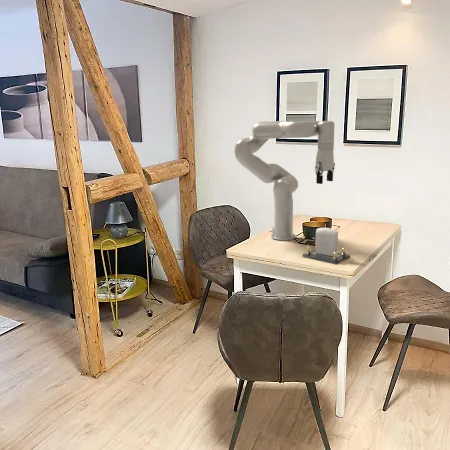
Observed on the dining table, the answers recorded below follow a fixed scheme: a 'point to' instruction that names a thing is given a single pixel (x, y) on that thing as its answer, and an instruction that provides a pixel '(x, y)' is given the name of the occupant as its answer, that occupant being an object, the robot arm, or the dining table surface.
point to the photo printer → (326, 241)
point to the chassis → (326, 256)
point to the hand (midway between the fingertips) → (324, 182)
